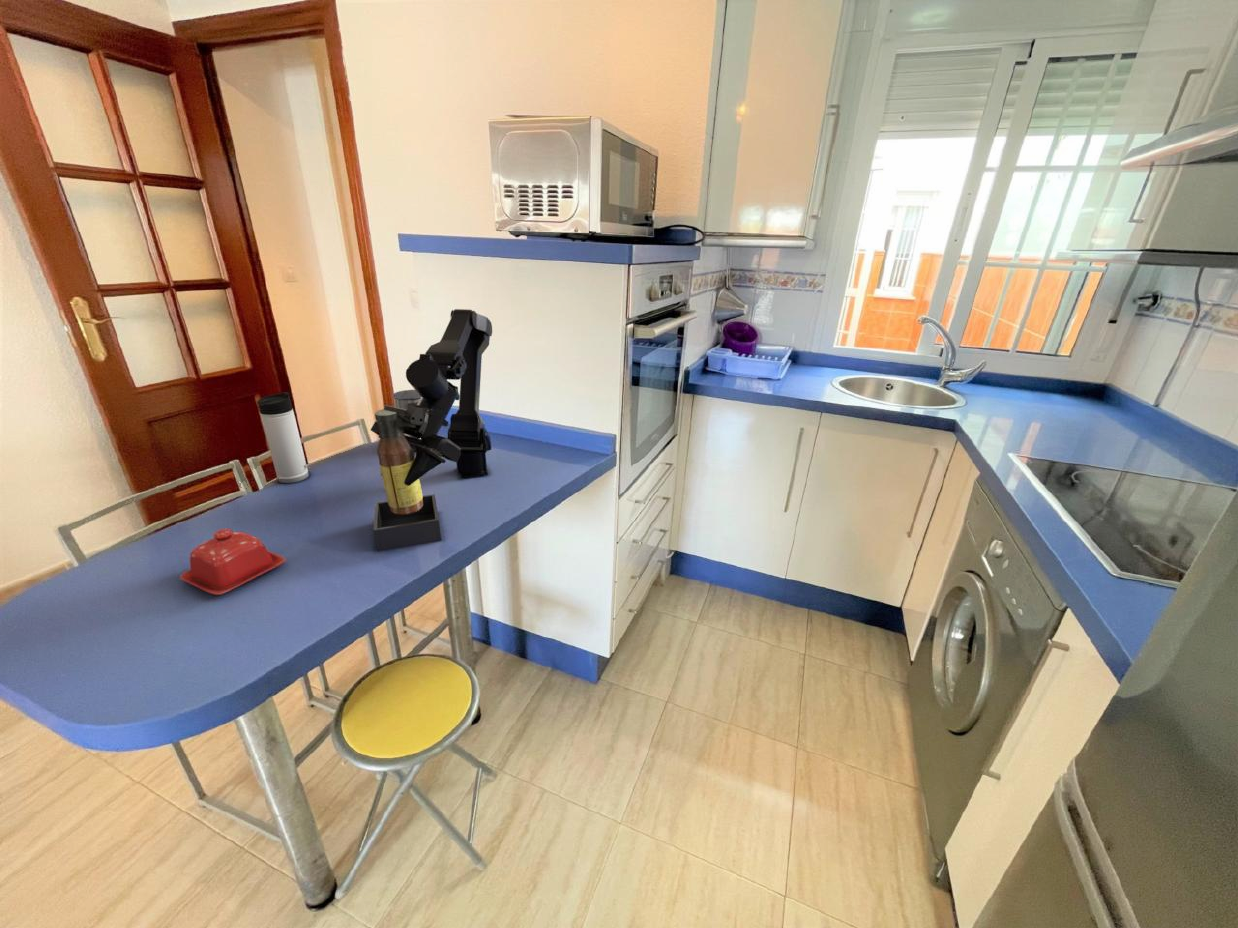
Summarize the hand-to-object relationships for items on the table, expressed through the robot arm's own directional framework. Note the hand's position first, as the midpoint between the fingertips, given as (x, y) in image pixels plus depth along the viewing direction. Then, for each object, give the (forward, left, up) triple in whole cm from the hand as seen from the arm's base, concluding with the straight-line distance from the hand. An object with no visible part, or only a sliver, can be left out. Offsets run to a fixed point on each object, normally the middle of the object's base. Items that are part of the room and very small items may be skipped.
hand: (394, 480), depth 93 cm
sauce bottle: (-1, -1, -7) cm, 7 cm away
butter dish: (+26, +4, -12) cm, 29 cm away
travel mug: (+23, -35, -12) cm, 43 cm away
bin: (-1, -1, -12) cm, 12 cm away
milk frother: (-9, -47, -12) cm, 49 cm away
